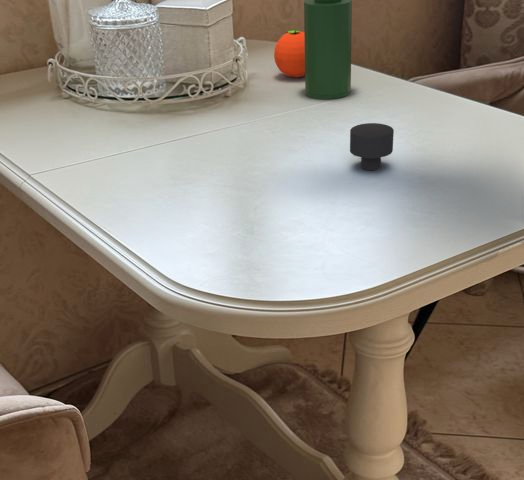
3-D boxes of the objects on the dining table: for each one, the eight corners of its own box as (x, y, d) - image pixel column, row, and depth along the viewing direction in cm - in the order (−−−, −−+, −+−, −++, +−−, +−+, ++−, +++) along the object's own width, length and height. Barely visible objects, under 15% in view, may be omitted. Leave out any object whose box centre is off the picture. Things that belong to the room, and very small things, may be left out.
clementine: (266, 73, 131) (264, 27, 127) (304, 67, 133) (303, 22, 129) (284, 84, 124) (283, 37, 120) (324, 78, 126) (324, 31, 122)
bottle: (349, 85, 123) (350, -36, 113) (351, 98, 117) (353, -28, 107) (305, 87, 123) (303, -34, 113) (305, 100, 117) (303, -26, 108)
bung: (389, 158, 96) (391, 122, 94) (394, 174, 92) (395, 136, 89) (348, 160, 96) (348, 123, 94) (350, 175, 92) (351, 138, 90)
